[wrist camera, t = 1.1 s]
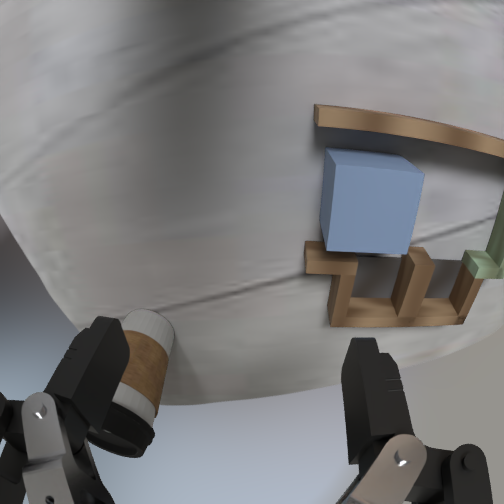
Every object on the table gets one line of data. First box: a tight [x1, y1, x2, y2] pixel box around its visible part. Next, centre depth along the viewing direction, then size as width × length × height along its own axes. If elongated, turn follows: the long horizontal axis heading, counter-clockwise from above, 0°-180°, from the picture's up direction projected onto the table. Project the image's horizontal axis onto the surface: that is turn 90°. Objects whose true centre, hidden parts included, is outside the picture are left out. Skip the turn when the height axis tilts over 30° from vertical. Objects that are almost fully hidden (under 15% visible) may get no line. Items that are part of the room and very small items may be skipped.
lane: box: [304, 104, 504, 327], centre depth 23 cm, size 20×18×3 cm
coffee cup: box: [86, 309, 174, 458], centre depth 27 cm, size 8×8×15 cm
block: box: [320, 147, 425, 254], centre depth 21 cm, size 6×6×5 cm
